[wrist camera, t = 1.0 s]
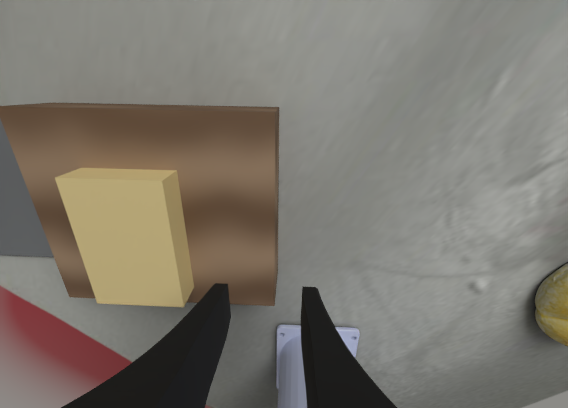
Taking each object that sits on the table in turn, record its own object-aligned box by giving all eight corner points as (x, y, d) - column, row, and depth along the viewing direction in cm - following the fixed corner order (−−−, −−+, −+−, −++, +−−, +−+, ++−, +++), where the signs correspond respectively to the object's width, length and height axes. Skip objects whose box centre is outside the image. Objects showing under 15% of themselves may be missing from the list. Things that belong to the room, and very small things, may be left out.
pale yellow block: (194, 287, 20) (183, 307, 18) (115, 283, 20) (97, 303, 18) (176, 170, 16) (161, 180, 15) (81, 167, 17) (54, 177, 15)
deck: (277, 272, 24) (274, 305, 20) (103, 265, 25) (69, 297, 21) (279, 107, 19) (274, 112, 15) (53, 102, 19) (-5, 106, 15)
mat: (95, 256, 24) (92, 258, 24) (-2, 252, 25) (-5, 254, 24) (51, 117, 19) (47, 117, 19) (-68, 114, 20) (-74, 115, 19)
